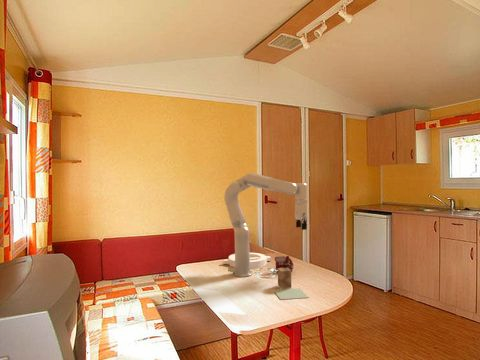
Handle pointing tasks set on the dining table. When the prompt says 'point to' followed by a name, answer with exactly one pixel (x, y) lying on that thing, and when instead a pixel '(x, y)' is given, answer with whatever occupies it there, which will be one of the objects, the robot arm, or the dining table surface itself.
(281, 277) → the walnut block
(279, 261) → the toy fire truck
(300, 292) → the sage mat
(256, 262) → the white circle with bar
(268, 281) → the dining table surface
